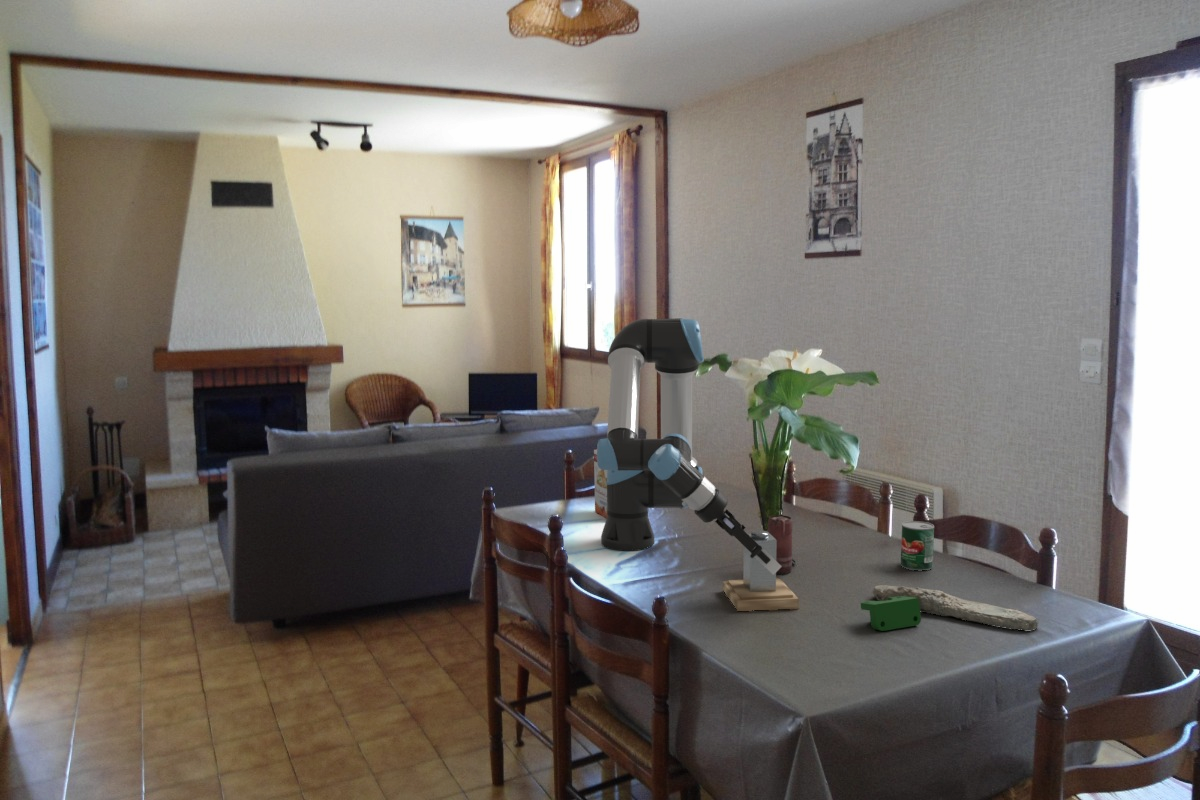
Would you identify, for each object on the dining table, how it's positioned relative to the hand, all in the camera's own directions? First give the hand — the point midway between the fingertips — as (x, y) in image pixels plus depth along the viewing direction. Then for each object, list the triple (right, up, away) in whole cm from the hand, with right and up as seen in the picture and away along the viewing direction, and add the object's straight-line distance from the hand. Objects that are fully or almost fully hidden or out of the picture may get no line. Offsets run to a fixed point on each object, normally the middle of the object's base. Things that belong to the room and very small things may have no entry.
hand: (768, 561), depth 207 cm
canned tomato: (+43, -6, +25) cm, 50 cm away
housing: (-2, -6, +1) cm, 6 cm away
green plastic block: (+23, -11, -15) cm, 30 cm away
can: (+7, -7, +22) cm, 24 cm away
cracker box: (-35, 0, +78) cm, 86 cm away
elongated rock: (+39, -10, -8) cm, 41 cm away
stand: (-2, -9, +1) cm, 9 cm away
